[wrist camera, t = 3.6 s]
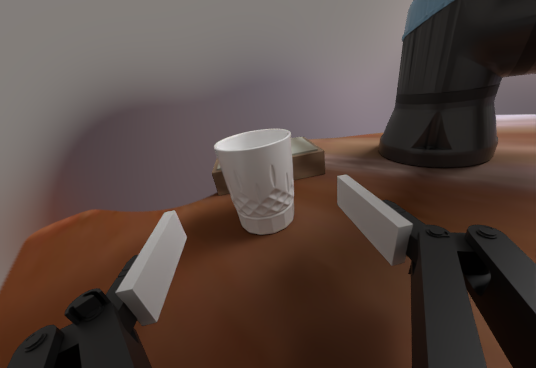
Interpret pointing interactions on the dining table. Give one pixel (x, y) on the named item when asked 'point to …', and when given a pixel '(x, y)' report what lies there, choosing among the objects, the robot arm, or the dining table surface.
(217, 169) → the board
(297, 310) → the dining table surface
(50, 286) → the dining table surface
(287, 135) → the white cup
